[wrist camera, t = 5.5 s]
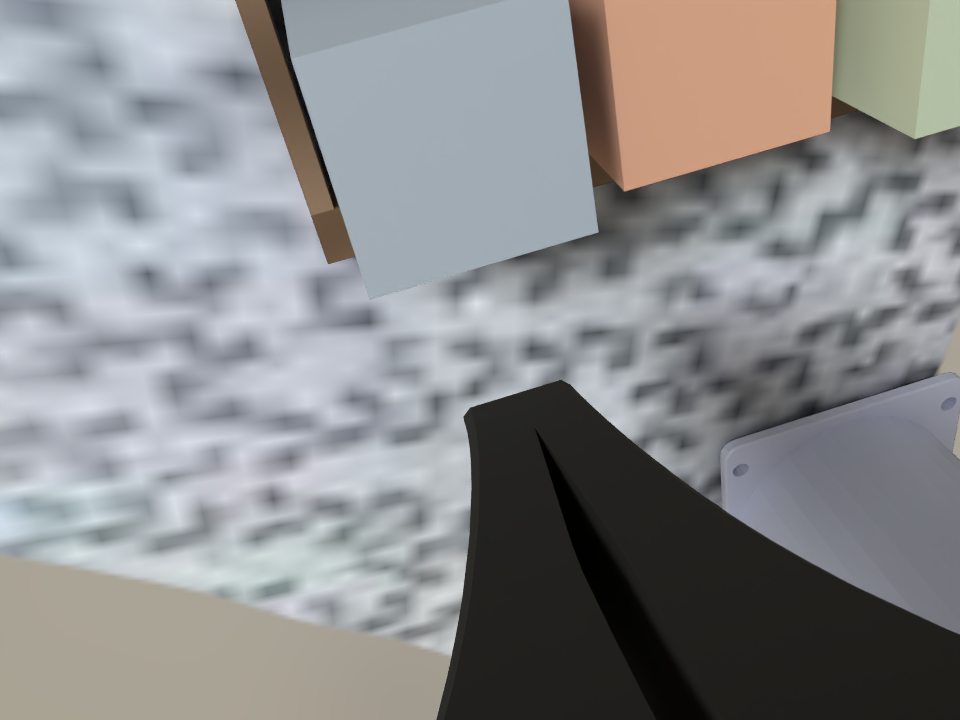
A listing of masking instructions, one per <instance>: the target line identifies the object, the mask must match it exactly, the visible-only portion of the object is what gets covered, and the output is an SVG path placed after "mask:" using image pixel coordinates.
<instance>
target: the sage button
mask: <svg viewBox="0 0 960 720" xmlns="http://www.w3.org/2000/svg"><path fill="white" fill-rule="evenodd" d="M832 96H833V97H835V98H837V99H839V100H841V101H843V102H845V103H847V104H849V105H851V106H852V107H854V108H856V109H858V110H860V111H862V112H864V113H866V114H868V115H870V116H872V117H873V118H875V119H877V120H879V121H881V122H883V123H885V124H887V125H889V126H891V127H892V128H894V129H896V130H898V131H900V132H902V133H904V134H906V135H908V136H910V137H912V138H913V139H917V138H920V137H924V136H927V135H931V134H934V133H937V132H941V131H944V130H948V129H951V128H954V127H958V126H960V0H836V19H835V39H834V59H833V80H832Z"/></svg>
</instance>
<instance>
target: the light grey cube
mask: <svg viewBox="0 0 960 720" xmlns="http://www.w3.org/2000/svg"><path fill="white" fill-rule="evenodd" d="M281 3H282V9H283V15H284V21H285V27H286V33H287V39H288V44H289V50H290V56H291V61H292V64H293V67H294V70H295V73H296V76H297V79H298V82H299V85H300V88H301V91H302V94H303V97H304V100H305V103H306V106H307V109H308V113H309V116H310V119H311V122H312V125H313V128H314V131H315V134H316V137H317V140H318V143H319V146H320V149H321V152H322V155H323V158H324V161H325V164H326V167H327V171H328V174H329V177H330V180H331V183H332V186H333V189H334V192H335V195H336V198H337V201H338V204H339V207H340V210H341V213H342V216H343V219H344V222H345V225H346V229H347V232H348V235H349V238H350V241H351V244H352V247H353V250H354V253H355V256H356V259H357V262H358V265H359V268H360V271H361V274H362V277H363V280H364V283H365V287H366V290H367V293H368V296H369V299H374V298H377V297H381V296H384V295H387V294H391V293H394V292H398V291H401V290H404V289H408V288H411V287H415V286H418V285H421V284H425V283H428V282H432V281H435V280H438V279H442V278H445V277H448V276H452V275H455V274H459V273H462V272H465V271H469V270H472V269H476V268H479V267H482V266H486V265H489V264H493V263H496V262H499V261H503V260H506V259H510V258H513V257H516V256H520V255H523V254H527V253H530V252H533V251H537V250H540V249H544V248H547V247H550V246H554V245H557V244H561V243H564V242H567V241H571V240H574V239H578V238H581V237H584V236H588V235H591V234H594V233H598V224H597V217H596V209H595V201H594V194H593V186H592V178H591V170H590V163H589V155H588V147H587V140H586V132H585V124H584V116H583V109H582V101H581V93H580V86H579V78H578V70H577V62H576V55H575V47H574V39H573V32H572V24H571V16H570V8H569V1H568V0H281Z"/></svg>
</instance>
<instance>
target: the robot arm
mask: <svg viewBox="0 0 960 720" xmlns="http://www.w3.org/2000/svg"><path fill="white" fill-rule="evenodd" d="M959 413H960V377H959V376H958V375H956V374H955V373H952V372H948V373H943V374H940V375H937V376H934V377H931V378H928V379H925V380H921V381H918V382H915V383H912V384H909V385H906V386H902V387H899V388H896V389H893V390H890V391H887V392H883V393H880V394H877V395H874V396H871V397H868V398H864V399H861V400H858V401H855V402H852V403H849V404H845V405H842V406H839V407H836V408H833V409H830V410H827V411H823V412H820V413H817V414H814V415H811V416H808V417H804V418H801V419H798V420H795V421H792V422H789V423H785V424H782V425H779V426H776V427H773V428H770V429H766V430H763V431H760V432H757V433H754V434H751V435H747V436H744V437H741V438H738V439H735V440H732V441H730V442H729V443H727V444H726V445H725V446H724V448H723V449H722V451H721V454H720V466H721V491H722V508H721V507H719V506H718V505H716V504H715V503H713V502H712V501H710V500H709V499H707V498H706V497H704V496H703V495H701V494H700V493H699V492H697V491H696V490H694V489H693V488H692V487H690V486H689V485H688V484H686V483H685V482H683V481H682V480H681V479H679V478H678V477H677V476H675V475H674V474H673V473H671V472H670V471H669V470H668V469H666V468H665V467H664V466H662V465H661V464H660V463H659V462H657V461H656V460H655V459H653V458H652V457H651V456H650V455H648V454H647V453H646V452H644V451H643V450H642V449H641V448H639V447H638V446H637V445H636V444H635V443H633V442H632V441H631V440H630V439H628V438H627V437H626V436H625V435H624V434H623V433H621V432H620V431H619V430H618V429H617V428H616V427H615V426H613V425H612V424H611V423H610V422H609V421H608V420H606V419H605V418H604V417H603V416H602V415H601V414H600V413H599V412H598V411H597V410H595V409H594V408H593V407H592V406H591V405H590V404H589V403H588V402H587V401H586V400H585V399H584V398H583V397H582V396H581V395H580V394H579V393H578V392H577V391H576V390H575V389H574V388H573V387H572V386H571V385H570V384H568V383H566V382H564V381H562V380H559V381H556V382H553V383H549V384H546V385H543V386H539V387H536V388H533V389H530V390H526V391H523V392H520V393H517V394H513V395H510V396H507V397H504V398H500V399H497V400H494V401H491V402H487V403H484V404H481V405H477V406H474V407H471V408H470V409H469V410H468V411H467V413H466V414H465V416H464V417H463V418H464V422H465V425H466V429H467V432H468V438H469V445H470V455H471V480H472V491H471V516H470V536H469V547H468V555H467V563H466V572H465V580H464V589H463V597H462V603H461V609H460V615H459V621H458V627H457V632H456V638H455V643H454V647H453V652H452V657H451V662H450V667H449V671H448V676H447V680H446V684H445V688H444V692H443V696H442V700H441V704H440V708H439V712H438V716H437V720H960V460H959V459H958V458H957V457H956V456H955V455H954V454H953V453H952V452H953V446H954V440H955V435H956V430H957V424H958V418H959ZM738 465H739V466H738ZM736 466H738V467H736ZM735 467H736V468H735Z"/></svg>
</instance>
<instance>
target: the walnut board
mask: <svg viewBox="0 0 960 720" xmlns="http://www.w3.org/2000/svg"><path fill="white" fill-rule="evenodd" d="M235 1H236V4H237V7H238V9H239V12H240V15H241V18H242V21H243V24H244V26H245V29H246V32H247V35H248V38H249V41H250V44H251V46H252V49H253V52H254V55H255V58H256V61H257V63H258V66H259V69H260V72H261V75H262V78H263V80H264V83H265V86H266V89H267V92H268V95H269V98H270V100H271V103H272V106H273V109H274V112H275V115H276V117H277V120H278V123H279V126H280V129H281V132H282V134H283V137H284V140H285V143H286V146H287V149H288V152H289V154H290V157H291V160H292V163H293V166H294V169H295V171H296V174H297V177H298V180H299V183H300V186H301V188H302V191H303V194H304V197H305V200H306V203H307V206H308V208H309V211H310V214H311V217H312V220H313V223H314V225H315V228H316V231H317V234H318V237H319V240H320V242H321V245H322V248H323V251H324V254H325V257H326V260H327V262H328V264H331V263H334V262H338V261H341V260H345V259H348V258H351V257H355V253H354V250H353V247H352V244H351V241H350V238H349V235H348V232H347V229H346V225H345V222H344V219H343V216H342V213H341V210H340V207H339V204H338V201H337V198H336V195H335V192H334V189H333V187H329V185H328V182H327V178H326V175H325V172H324V169H323V166H322V163H321V160H320V157H319V154H318V151H317V148H316V145H315V142H314V139H313V136H312V133H311V130H310V127H309V124H308V121H307V118H306V115H305V112H304V109H303V106H302V103H301V100H300V97H299V94H298V91H297V88H296V85H295V82H294V79H293V76H292V73H291V69H290V66H289V63H288V60H287V57H286V54H285V51H284V48H283V45H282V42H281V39H280V36H279V33H278V30H277V27H276V24H275V21H274V18H273V15H272V12H271V9H270V6H269V3H268V0H235ZM854 111H858V109H856V108H854V107H852V106H851V105H849V104H847V103H845V102H843V101H841V100H839V99H837V98H835V97H833V96H832V100H831V118H833V117H837V116H840V115H844V114H847V113H851V112H854ZM588 155H589V163H590V170H591V178H592V186H593V187H596V186H599V185H603V184H606V183H610V182H613V181H614V180H613V179H612V178H611V177H610V176H609V175H608V174H607V173H606V171H605V170H604V169H603V168H602V167H601V166H600V165H599V164H598V163H597V162H596V161H595V160H594V159H593V158H592V157H591V155H590V154H589V153H588Z"/></svg>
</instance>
